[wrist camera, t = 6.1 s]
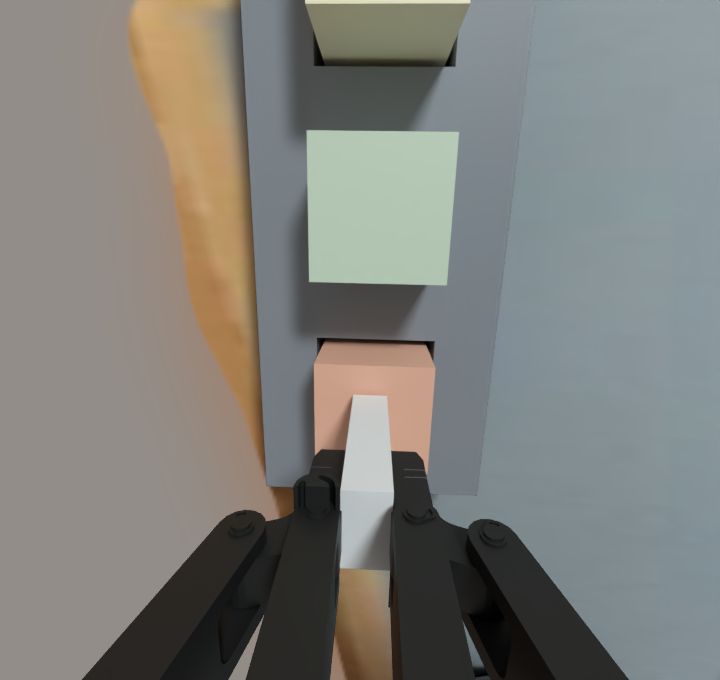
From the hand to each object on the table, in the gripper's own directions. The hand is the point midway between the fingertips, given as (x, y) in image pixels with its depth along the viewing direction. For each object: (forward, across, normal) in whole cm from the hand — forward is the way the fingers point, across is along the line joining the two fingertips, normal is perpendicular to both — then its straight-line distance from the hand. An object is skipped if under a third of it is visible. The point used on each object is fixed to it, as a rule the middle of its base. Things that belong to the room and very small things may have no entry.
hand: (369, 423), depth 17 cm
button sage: (+6, 0, +9) cm, 11 cm away
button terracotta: (+7, 0, 0) cm, 7 cm away
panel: (+8, 0, +9) cm, 12 cm away
